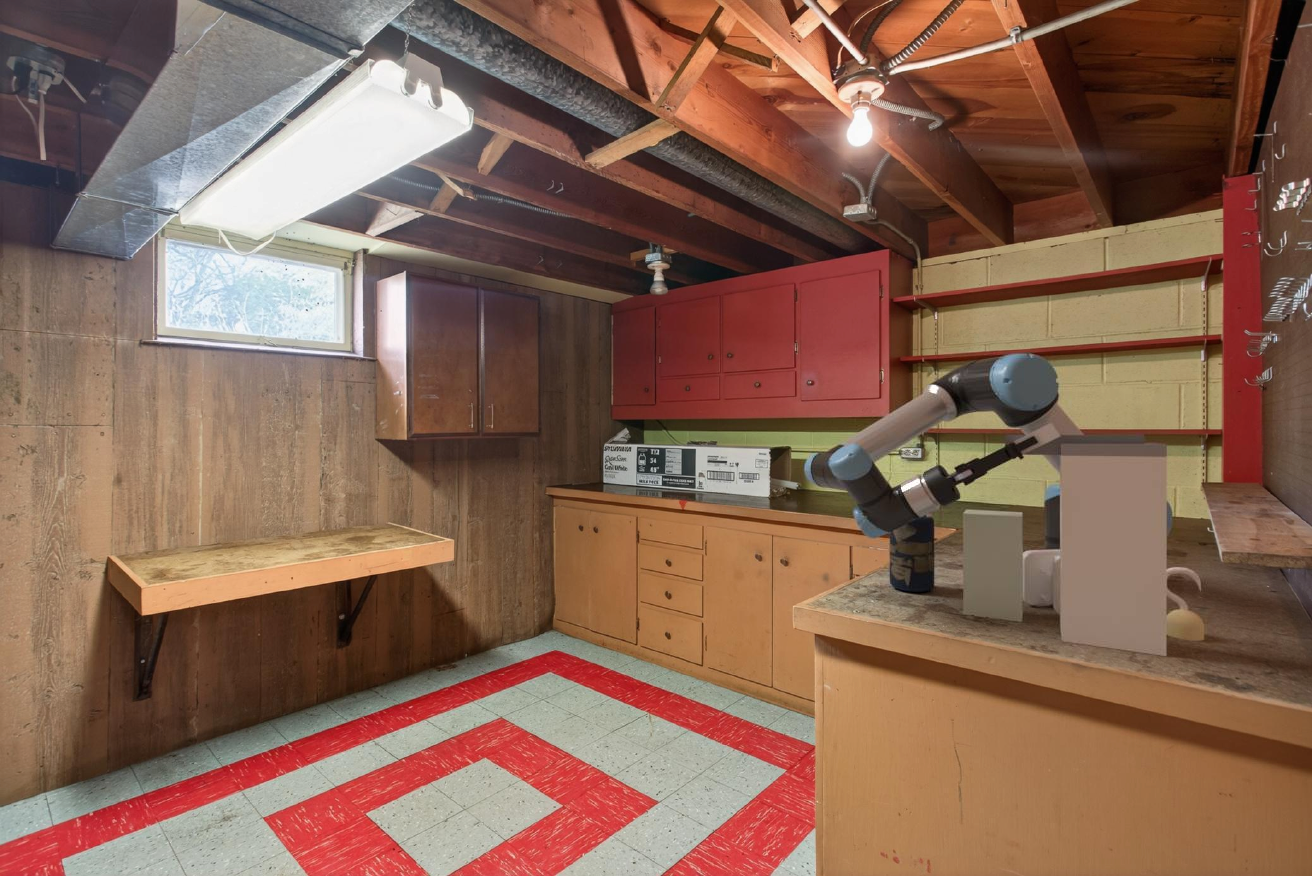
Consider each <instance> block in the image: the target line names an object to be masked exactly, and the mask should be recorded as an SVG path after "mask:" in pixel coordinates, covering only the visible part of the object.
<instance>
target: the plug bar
mask: <svg viewBox="0 0 1312 876" xmlns="http://www.w3.org/2000/svg"><path fill="white" fill-rule="evenodd" d="M1024 436H1026V435H1025V434H1005V437H1004V444H1005V445H1004V447H1005V446H1006V445H1009V444H1010V443H1015V442H1014V441H1016V440H1018V439H1020V438H1022V437H1024ZM1145 436H1146V435H1145V434H1084V435H1060V437H1058V438H1056V439H1054V440H1052V441H1050V442H1048V443H1046V444H1044V445H1041V446H1039V447H1037V448H1035V449H1033V450H1031V451H1029V452H1027V453H1025V454H1022V452H1021V454H1022V455H1023V456H1031V455H1033V456H1035V455H1036V456H1043V455H1061V444H1145V443H1146V442H1145V441H1146V438H1145ZM1015 445H1016V443H1015Z"/></svg>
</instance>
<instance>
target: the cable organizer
mask: <svg viewBox="0 0 1312 876" xmlns="http://www.w3.org/2000/svg"><path fill="white" fill-rule="evenodd" d="M1023 603H1028V604H1029V605H1033V606H1034V607H1049V606H1051V605H1052V606H1053V610H1054V611H1055V613H1057V614H1059V615H1060V549H1054V550H1043V549H1034V550H1033V549H1029V550H1026V551H1023Z"/></svg>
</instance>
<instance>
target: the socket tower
mask: <svg viewBox="0 0 1312 876" xmlns="http://www.w3.org/2000/svg"><path fill="white" fill-rule="evenodd" d="M1167 448H1168V447H1167V444H1165V443H1159V442H1145V444H1061V455H1060V474H1059V484H1060V614H1059V617H1060V618H1059V625H1060V626H1059V631H1060V636H1061V642H1065V643H1071V644H1072V643H1073V644H1077V645H1085V646H1093V647H1100V648H1106V649H1113V650H1120V651H1129V652H1134V653H1139V654H1140V653H1141V654H1149V655H1155V656H1161V657H1162V656H1163V657H1167V634H1166V616H1167V596H1166V581H1167V582H1168V578H1167V569H1168V568H1167V563H1168V562H1167V559H1168V558H1167V552H1168V551H1167V550H1168V549H1167V547H1168V546H1167V545H1168V544H1167V541H1168V540H1167V539H1168V538H1167V536H1168V535H1167V501H1168V500H1167V498H1168V497H1167V496H1168V495H1167V494H1168V492H1167V489H1168V488H1167V487H1168V486H1167V484H1168V483H1167V479H1168V478H1167V477H1168V475H1167V473H1168V469H1167V468H1168V467H1167V464H1168V463H1167V462H1168V461H1167V459H1168V457H1167V454H1168V452H1167V450H1168V449H1167Z"/></svg>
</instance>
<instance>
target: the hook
mask: <svg viewBox="0 0 1312 876" xmlns="http://www.w3.org/2000/svg"><path fill="white" fill-rule="evenodd" d="M1174 574H1185V575H1187V576H1189V577H1190V578H1191V579H1192V580H1193V581H1194V582H1195V583H1196V585H1197V586H1198V589H1199V591H1200V592H1202V584H1201V583H1202V582H1201V580H1200V576H1199V575H1198V574H1197V573H1196V572H1195V571H1194V570H1192V569H1190V568H1187V567H1182V566H1181V567H1179V566H1177V567H1170V568H1167V579H1168V578H1169V577H1170V576H1171V575H1174ZM1166 598H1168V599H1170V600H1171V601H1174V602H1175V603H1176V604H1177V605H1178V606H1179V609H1173V610H1172V611H1170V612H1169V613H1168V614H1166V636H1169V637H1171V638H1175V639H1180V640H1185V641H1192V642H1193V641H1194V642H1199V641H1204V640H1205V624H1204V621H1203V620H1202V618H1201V617H1200V616H1199V615H1198V614H1197V613H1195V612H1193V611H1191V610H1190V609H1189V606H1188V605H1187V603H1186V601H1185V600H1184V599H1183V598H1181V596H1179V595H1177V594H1175V593H1174V592H1172V591H1170V589H1169V588H1168V580H1167V581H1166Z"/></svg>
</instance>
